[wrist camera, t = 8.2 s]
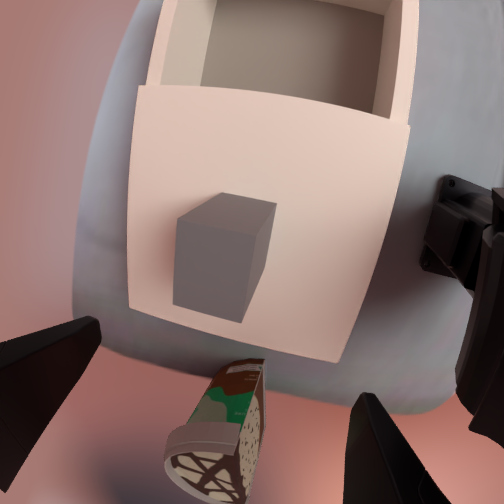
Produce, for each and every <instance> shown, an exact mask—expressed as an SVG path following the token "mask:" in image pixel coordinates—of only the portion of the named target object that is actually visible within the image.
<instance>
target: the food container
mask: <svg viewBox="0 0 504 504" xmlns="http://www.w3.org/2000/svg"><path fill="white" fill-rule="evenodd" d="M265 407H266V406H265V359H246V360H240V361H234V362H232V363H230V364H228V365H226V366H224V367H222V368H221V369H220V370H219V372H218V373H217V374H216V375H215V376H214V378H213V380H212V381H211V383H210V385H209V387H208V388H207V390H206V392H205V393H204V395H203V397H202V399H201V400H200V402H199V403H198V405H197V407H196V408H195V410H194V412H193V414H192V415H191V417H190V419H189V420H188V422H187V424H186V425H183V426H180V427H178V428H176V429H175V430H173V431H172V432H171V433H170V435H169V436H168V439H167V444H166V448H165V453H164V461H165V464H164V467H165V471H166V473H167V474H168V476H169V477H170V479H171V480H172V481H173V482H174V483H175V484H177V485H178V486H179V487H180V488H182V489H183V490H185V491H186V492H188V493H189V494H191V495H193V496H195V497H197V498H199V499H201V500H203V501H205V502H208V503H210V504H248V501H249V498H250V496H249V495H250V491H251V486H252V483H253V479H254V474H255V470H256V466H257V462H258V458H259V453H260V449H261V445H262V440H263V436H264V431H265V427H266V411H265V410H266V408H265Z"/></svg>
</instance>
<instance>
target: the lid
mask: <svg viewBox="0 0 504 504" xmlns="http://www.w3.org/2000/svg"><path fill="white" fill-rule="evenodd" d="M410 127H411V126H409V125H406V124H403V123H400V122H397V121H394V120H390V119H387V118H384V117H380V116H377V115H373V114H370V113H366V112H362V111H358V110H354V109H350V108H346V107H342V106H338V105H333V104H329V103H324V102H319V101H314V100H309V99H304V98H298V97H292V96H286V95H280V94H273V93H266V92H258V91H250V90H241V89H231V88H219V87H204V86H182V85H139V88H138V95H137V102H136V109H135V117H134V125H133V134H132V144H131V155H130V168H129V185H128V208H127V270H128V294H129V308H132V309H135V310H137V311H140V312H143V313H146V314H149V315H152V316H155V317H158V318H161V319H164V320H168V321H171V322H174V323H177V324H180V325H184V326H187V327H190V328H193V329H197V330H200V331H204V332H207V333H211V334H214V335H218V336H221V337H225V338H229V339H232V340H236V341H240V342H244V343H248V344H252V345H256V346H260V347H264V348H268V349H272V350H276V351H281V352H285V353H290V354H294V355H299V356H303V357H308V358H313V359H318V360H323V361H328V362H333V363H338V362H339V360H340V357H341V355H342V353H343V350H344V348H345V346H346V343H347V341H348V339H349V336H350V334H351V331H352V329H353V326H354V324H355V321H356V319H357V316H358V313H359V311H360V308H361V305H362V303H363V300H364V297H365V295H366V292H367V289H368V286H369V283H370V280H371V278H372V275H373V272H374V269H375V266H376V263H377V259H378V256H379V253H380V250H381V247H382V244H383V240H384V237H385V234H386V230H387V227H388V223H389V220H390V216H391V212H392V209H393V205H394V201H395V197H396V193H397V189H398V185H399V181H400V176H401V172H402V168H403V163H404V158H405V154H406V149H407V144H408V138H409V133H410Z"/></svg>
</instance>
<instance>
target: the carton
mask: <svg viewBox="0 0 504 504" xmlns="http://www.w3.org/2000/svg"><path fill="white" fill-rule="evenodd" d="M418 21H419V0H164V2H163V5H162V9H161V13H160V17H159V21H158V26H157V30H156V34H155V39H154V43H153V48H152V53H151V58H150V64H149V69H148V75H147V81H146V85H182V86H204V87H219V88H231V89H241V90H250V91H258V92H266V93H273V94H280V95H286V96H292V97H298V98H304V99H309V100H314V101H319V102H324V103H329V104H333V105H338V106H342V107H346V108H350V109H354V110H358V111H362V112H366V113H370V114H373V115H377V116H380V117H384V118H387V119H390V120H394V121H397V122H400V123H403V124H406V125H407V122H408V116H409V109H410V103H411V96H412V89H413V81H414V72H415V63H416V52H417V39H418Z"/></svg>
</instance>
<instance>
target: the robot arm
mask: <svg viewBox="0 0 504 504" xmlns="http://www.w3.org/2000/svg"><path fill="white" fill-rule="evenodd" d="M451 179H452V181H453V184H452V186H449V181H450V180H451ZM424 241H425V246H424V249H423V252H422V255H421V257H420V261H419V264H420V266H421V268H422V269H423V270H425V271H428V272H432V273H436V274H440V275H444V276H448V277H452V278H455V279H458V280H459V282H460V283H461V284H462V285H463V286H464V288H465V289H466V290H467V291H468V293H469V294H470V295H471V296H472V298H473V303H472V308H471V312H470V317H469V321H468V325H467V329H466V333H465V337H464V340H463V344H462V347H461V351H460V354H459V357H458V361H457V364H456V367H455V375H456V384H457V387H456V394H457V396H458V398H459V400H460V401H461V403H462V404H463V406H464V407H465V408H466V409H467V410H468V411H469V412H470V413H471V414H472V415H473V416H474V417H473V419H472V421H471V423H470V425H469V427H468V428H469V430H470V431H472V432H475V433H478V434H481V435H484V436H487V437H488V438H490V439H491V440H493V441H495V442H496V443H498V444H499V445H501V446H502V447H503V448H504V188H492V191H490V190H488V189H485V188H483V187H481V186H478V185H476V184H473V183H471V182H468V181H466V180H463V179H461V178H458V177H456V176H453V175H446V176H445V177H444V179H443V183H442V187H441V191H440V195H439V199H438V202H436V203H435V204H434V207H433V211H432V214H431V218H430V221H429V224H428V228H427V231H426V234H425V237H424ZM427 260H429V263H428V264H427V265H424V263H425V261H427ZM101 339H102V336H101V330H100V324H99V321H98V319H96V318H94V317H91V316H85V317H82V318H79V319H76V320H73V321H70V322H66V323H63V324H60V325H56V326H53V327H51V328H47V329H43V330H41V331H37V332H34V333H31V334H27V335H24V336H21V337H17V338H14V339H11V340H8V341H7V342H6V341H4V342H1V343H0V489H1V490H2V491H3V492H4V493H6V492H7V490H8V489H9V487H10V485H11V483H12V482H13V480H14V478H15V476H16V475H17V473H18V471H19V470H20V468H21V466H22V465H23V463H24V462H25V460H26V458H27V457H28V454H29V453H30V452H31V450H32V448H33V447H34V445H35V444H36V442H37V441H38V439H39V438H40V436H41V434H42V433H43V431H44V430H45V428H46V427H47V425H48V424H49V422H50V421H51V419H52V418H53V416H54V415H55V413H56V412H57V410H58V409H59V407H60V406H61V404H62V403H63V402H64V400H65V399H66V397H67V396H68V394H69V393H70V391H71V390H72V389H73V387H74V386H75V384H76V383H77V382H78V380H79V379H80V377H81V376H82V374H83V373H84V371H85V369H86V367H87V366H88V364H89V362H90V360H91V358H92V357H93V355H94V353H95V352H96V350H97V348H98V346H99V345H100V343H101ZM343 504H451V503H450V501H449V500H448V499H447V498H446V496H445V495H444V494H443V493H442V491H441V490H440V489H439V487H438V486H437V485H436V483H435V482H434V481H433V479H432V478H431V476H430V475H429V473H428V472H427V471H426V470H425V467H424V466H423V464H422V463H421V461H420V460H419V458H418V457H417V455H416V454H415V453H414V451H413V449H412V448H411V447H410V445H409V443H408V442H407V440H406V439H405V437H404V436H403V435H402V433H401V432H400V430H399V429H398V427H397V426H396V424H395V423H394V421H393V420H392V419H391V417H390V416H389V414H388V413H387V411H386V410H385V408H384V407H383V405H382V404H381V402H380V401H379V400H378V398H377V397H376V395H375V394H373V393H367V392H363V393H361V394H360V396H359V397H358V399H357V401H356V403H355V404H354V406H353V408H352V410H351V414H350V422H349V430H348V437H347V444H346V452H345V473H344V492H343Z"/></svg>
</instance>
